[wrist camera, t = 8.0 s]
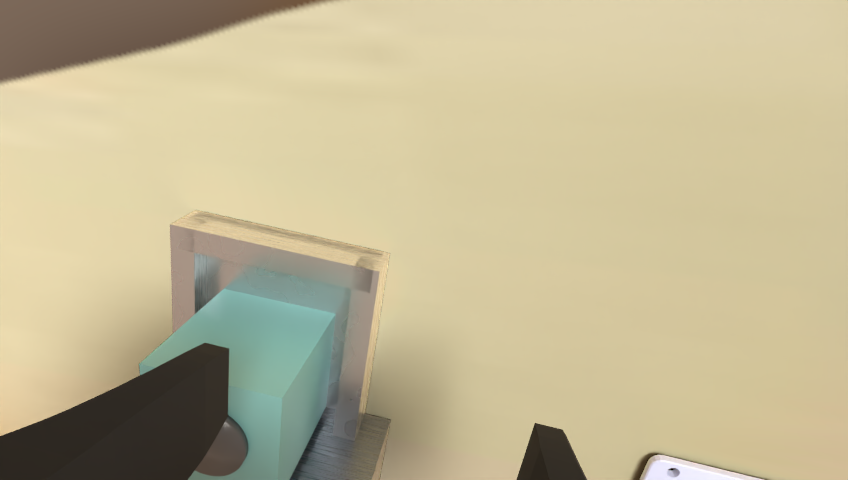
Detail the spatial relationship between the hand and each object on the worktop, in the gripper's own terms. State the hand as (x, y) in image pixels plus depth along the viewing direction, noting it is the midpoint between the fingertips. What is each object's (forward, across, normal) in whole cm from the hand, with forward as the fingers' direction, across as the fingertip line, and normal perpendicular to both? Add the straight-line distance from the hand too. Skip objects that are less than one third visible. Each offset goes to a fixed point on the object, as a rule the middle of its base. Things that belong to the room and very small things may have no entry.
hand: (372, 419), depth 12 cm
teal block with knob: (+9, +6, +6) cm, 12 cm away
